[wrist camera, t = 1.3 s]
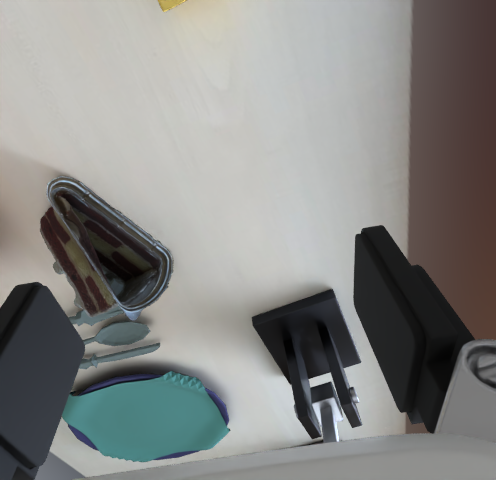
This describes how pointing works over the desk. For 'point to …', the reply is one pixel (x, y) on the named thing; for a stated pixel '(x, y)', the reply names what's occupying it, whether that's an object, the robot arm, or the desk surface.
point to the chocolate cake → (102, 252)
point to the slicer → (311, 352)
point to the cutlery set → (142, 404)
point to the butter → (169, 4)
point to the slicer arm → (327, 410)
